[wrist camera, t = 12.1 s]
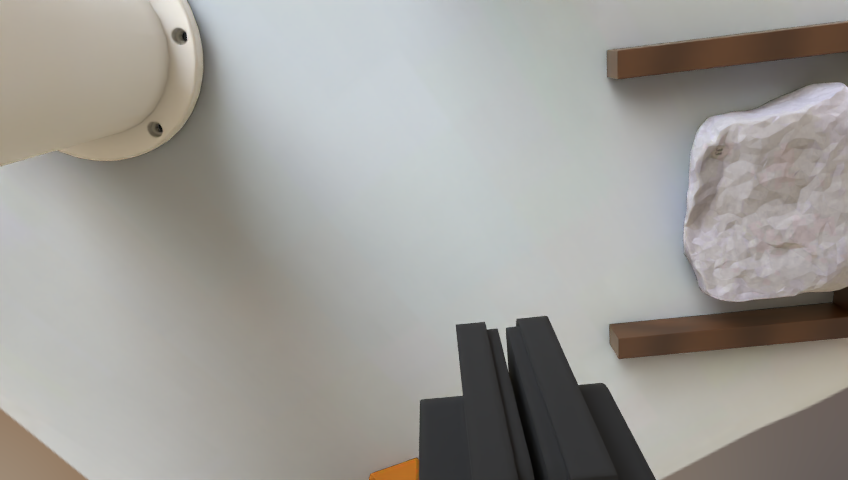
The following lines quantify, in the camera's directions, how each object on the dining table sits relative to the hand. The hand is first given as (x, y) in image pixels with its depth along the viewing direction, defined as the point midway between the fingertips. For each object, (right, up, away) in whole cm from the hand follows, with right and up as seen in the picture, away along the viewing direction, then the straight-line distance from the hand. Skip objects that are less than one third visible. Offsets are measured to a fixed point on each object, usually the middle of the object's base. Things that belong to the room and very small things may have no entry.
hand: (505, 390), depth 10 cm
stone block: (+19, +6, +24) cm, 31 cm away
